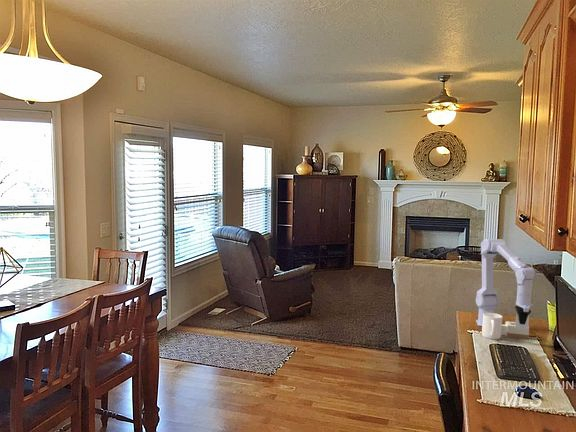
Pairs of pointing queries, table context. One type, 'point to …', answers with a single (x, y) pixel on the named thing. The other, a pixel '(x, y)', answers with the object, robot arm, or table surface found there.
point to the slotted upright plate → (513, 331)
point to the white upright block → (521, 326)
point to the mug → (492, 326)
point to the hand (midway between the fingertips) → (521, 323)
